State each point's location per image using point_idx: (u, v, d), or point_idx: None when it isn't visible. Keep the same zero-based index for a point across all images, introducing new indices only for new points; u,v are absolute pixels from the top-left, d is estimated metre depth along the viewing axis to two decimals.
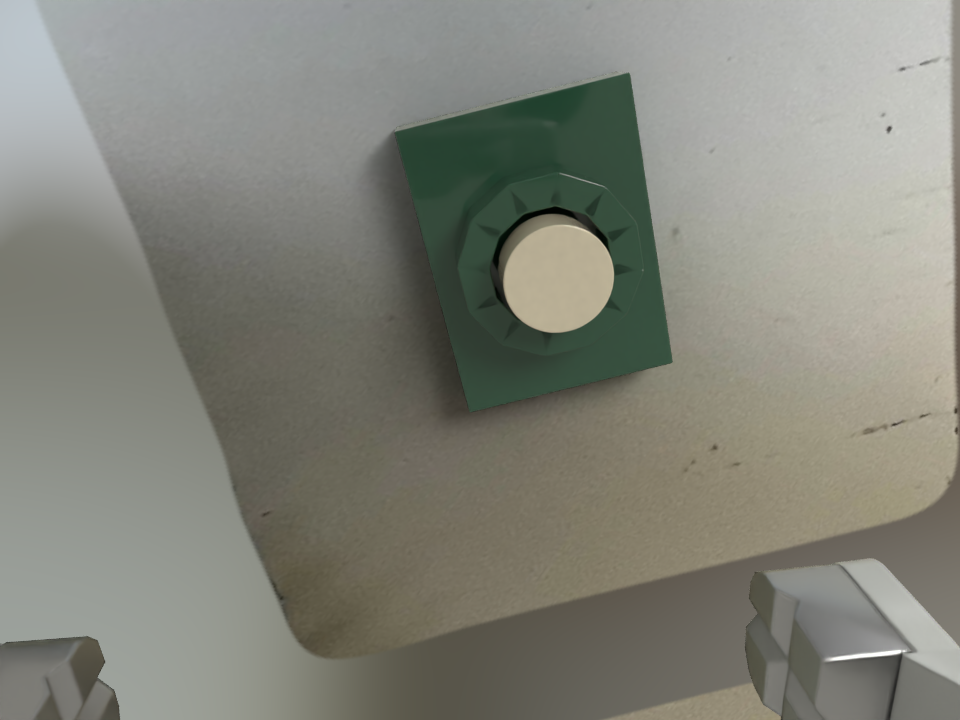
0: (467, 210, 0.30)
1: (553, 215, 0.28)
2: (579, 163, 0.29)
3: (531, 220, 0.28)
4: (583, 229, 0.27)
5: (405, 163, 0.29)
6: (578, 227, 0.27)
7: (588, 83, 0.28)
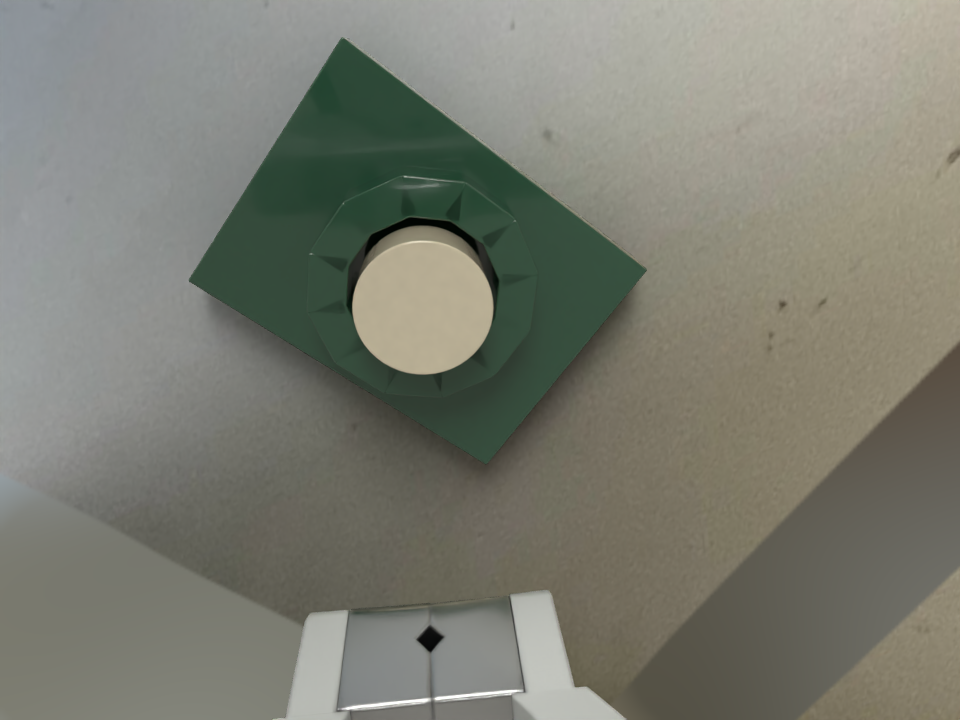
0: None
1: (377, 244, 0.22)
2: (375, 164, 0.23)
3: (361, 266, 0.23)
4: (401, 244, 0.21)
5: (222, 299, 0.25)
6: (394, 246, 0.21)
7: (313, 83, 0.23)
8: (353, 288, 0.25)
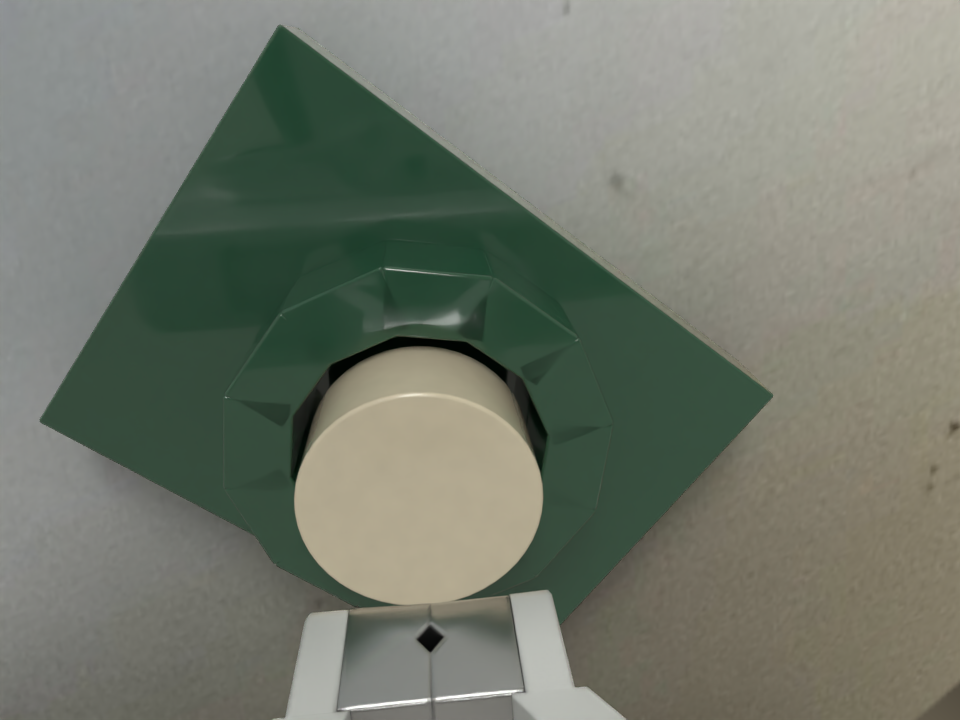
0: None
1: (341, 380, 0.13)
2: (341, 237, 0.14)
3: (315, 415, 0.13)
4: (380, 398, 0.12)
5: (96, 449, 0.15)
6: (368, 401, 0.12)
7: (233, 103, 0.13)
8: (308, 429, 0.16)
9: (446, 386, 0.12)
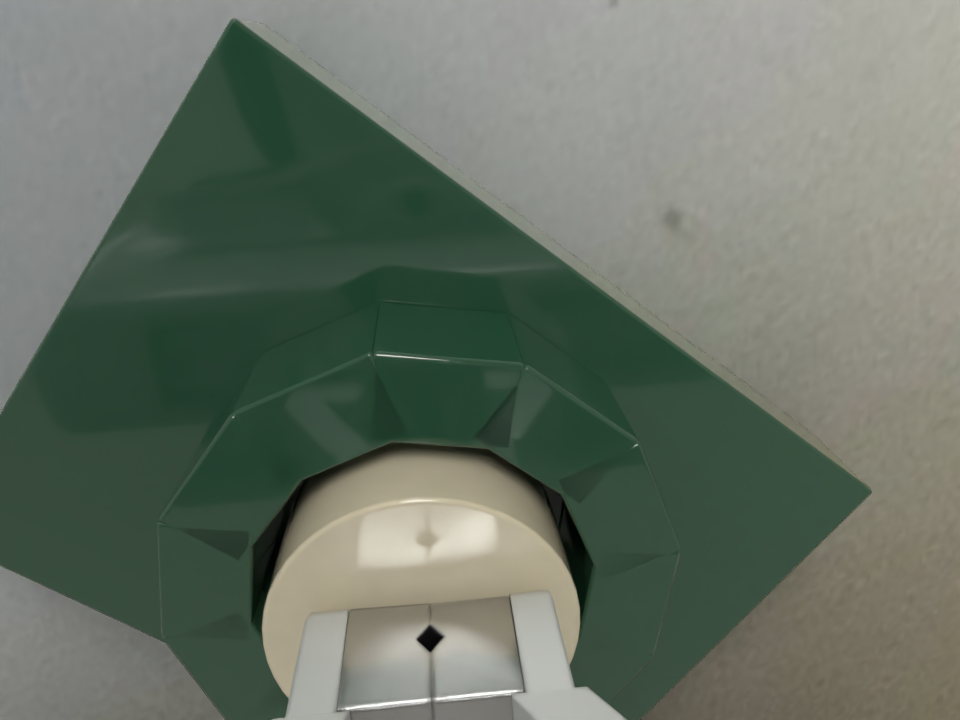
0: None
1: None
2: (320, 299, 0.11)
3: (292, 508, 0.11)
4: (371, 505, 0.09)
5: (7, 566, 0.12)
6: (357, 509, 0.09)
7: (172, 125, 0.10)
8: (280, 538, 0.12)
9: (457, 486, 0.09)
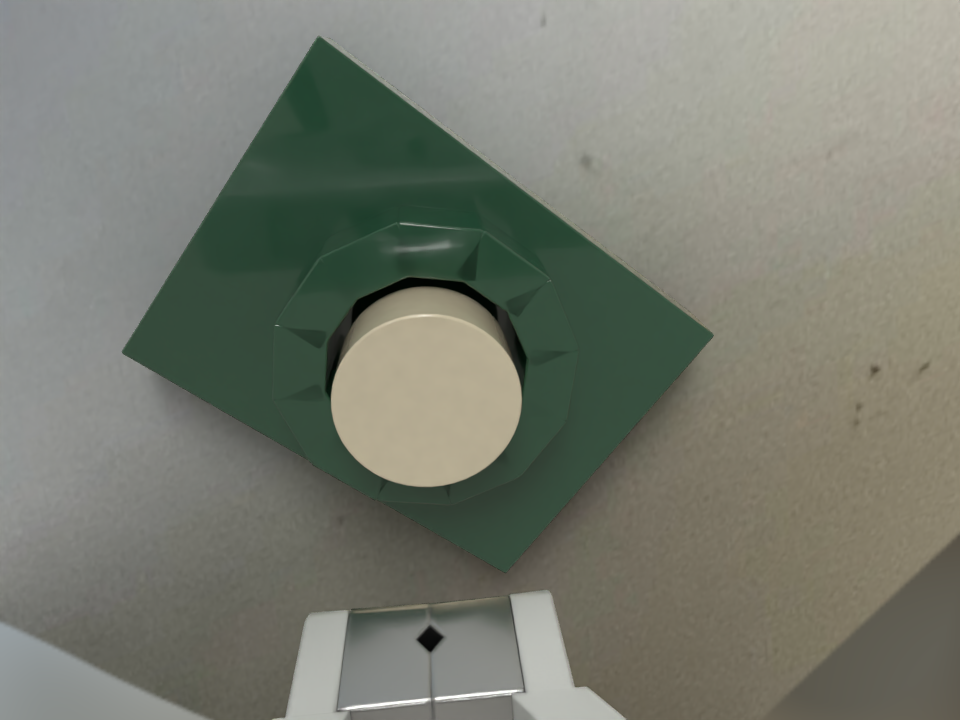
0: None
1: (365, 312, 0.17)
2: (364, 203, 0.18)
3: (345, 340, 0.17)
4: (397, 318, 0.15)
5: (166, 376, 0.19)
6: (388, 321, 0.15)
7: (281, 97, 0.17)
8: (336, 360, 0.19)
9: (447, 311, 0.16)
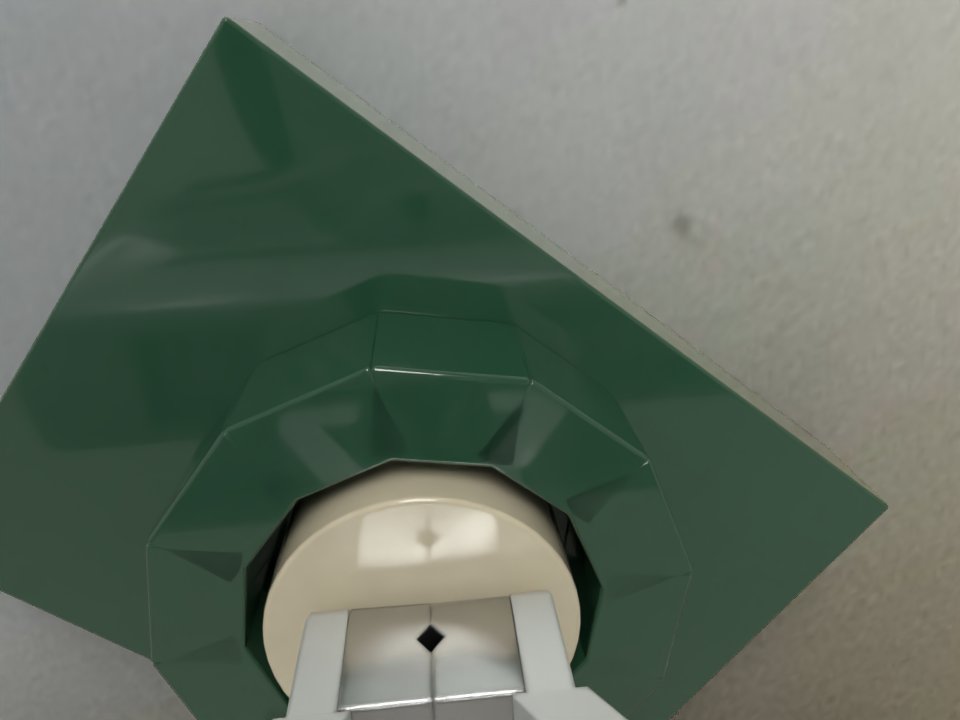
0: None
1: None
2: (316, 309, 0.10)
3: (293, 507, 0.11)
4: (372, 504, 0.09)
5: None
6: (357, 508, 0.09)
7: (161, 128, 0.09)
8: (276, 556, 0.12)
9: (458, 486, 0.09)
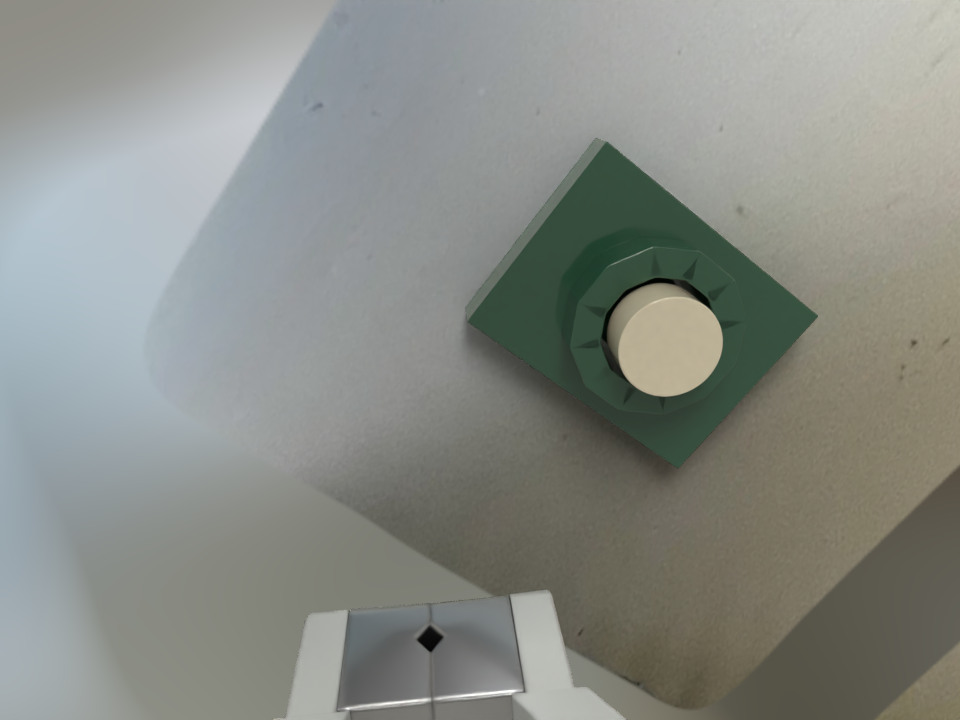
0: (561, 332, 0.32)
1: (629, 297, 0.29)
2: (620, 234, 0.31)
3: (615, 313, 0.30)
4: (660, 299, 0.28)
5: (491, 336, 0.32)
6: (655, 300, 0.28)
7: (581, 175, 0.30)
8: None
9: (685, 295, 0.28)
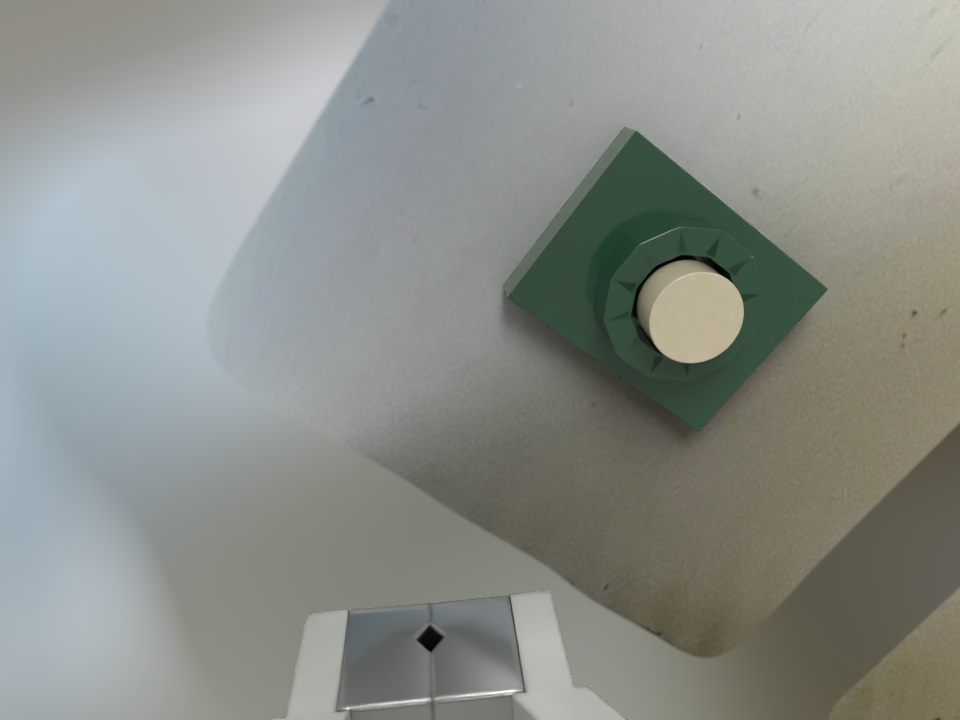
0: (593, 306, 0.35)
1: (657, 273, 0.32)
2: (647, 216, 0.33)
3: (644, 288, 0.33)
4: (687, 274, 0.31)
5: (529, 311, 0.35)
6: (683, 275, 0.31)
7: (612, 161, 0.32)
8: None
9: (710, 270, 0.31)
